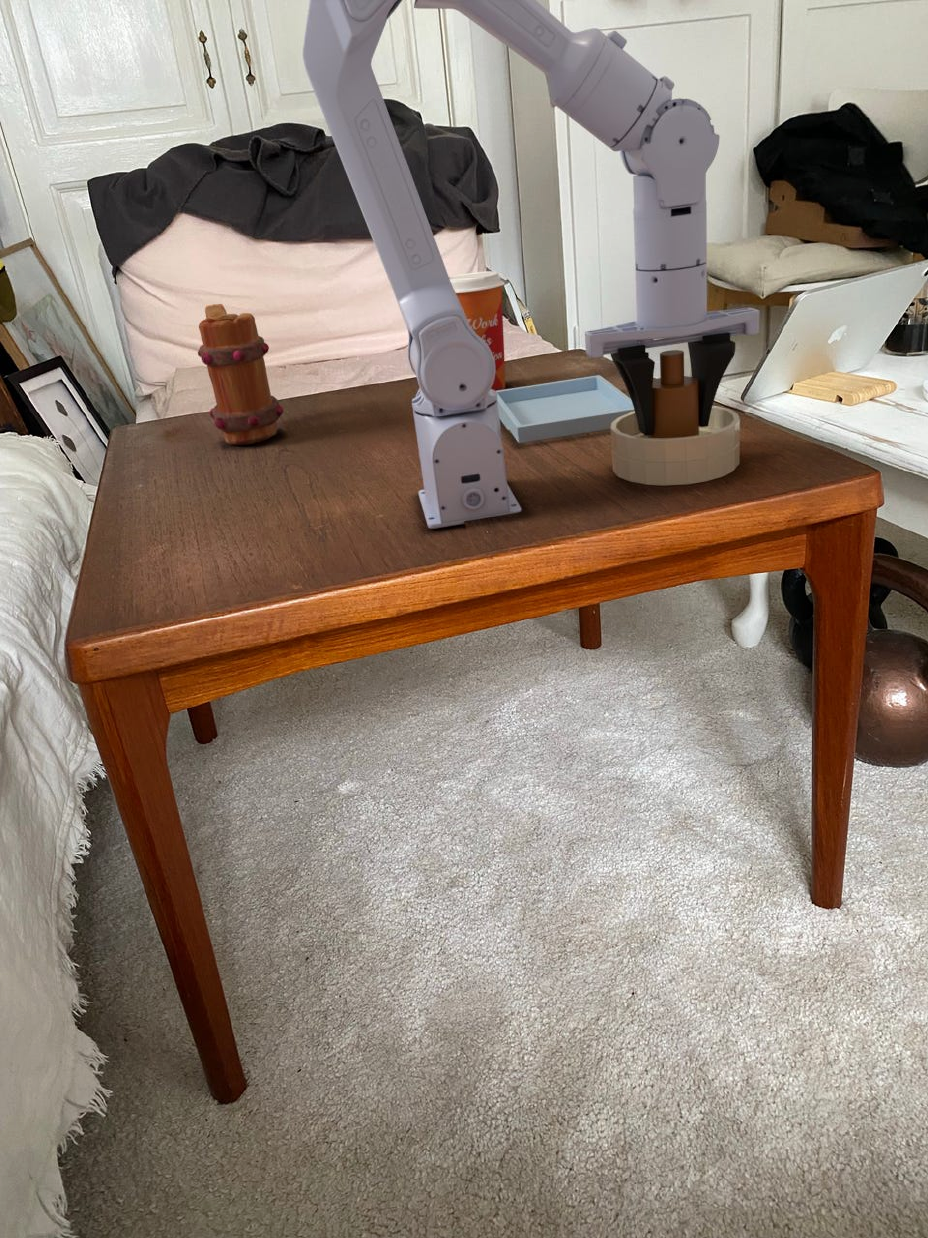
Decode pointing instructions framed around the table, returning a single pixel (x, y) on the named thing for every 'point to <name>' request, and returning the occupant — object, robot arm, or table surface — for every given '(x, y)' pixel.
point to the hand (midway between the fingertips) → (673, 428)
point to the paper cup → (484, 313)
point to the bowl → (676, 451)
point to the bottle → (675, 399)
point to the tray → (561, 408)
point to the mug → (238, 376)
